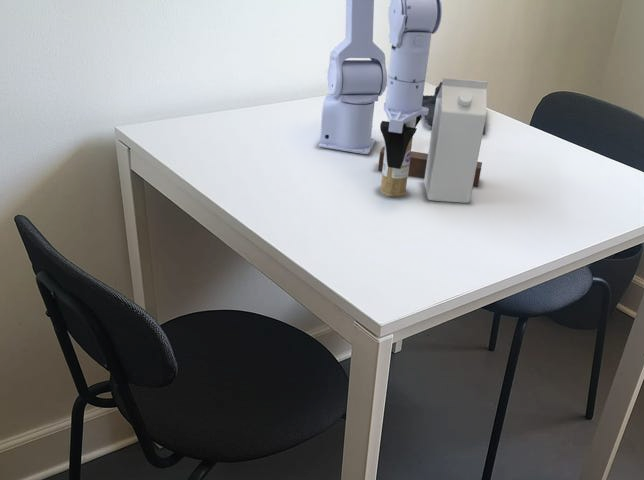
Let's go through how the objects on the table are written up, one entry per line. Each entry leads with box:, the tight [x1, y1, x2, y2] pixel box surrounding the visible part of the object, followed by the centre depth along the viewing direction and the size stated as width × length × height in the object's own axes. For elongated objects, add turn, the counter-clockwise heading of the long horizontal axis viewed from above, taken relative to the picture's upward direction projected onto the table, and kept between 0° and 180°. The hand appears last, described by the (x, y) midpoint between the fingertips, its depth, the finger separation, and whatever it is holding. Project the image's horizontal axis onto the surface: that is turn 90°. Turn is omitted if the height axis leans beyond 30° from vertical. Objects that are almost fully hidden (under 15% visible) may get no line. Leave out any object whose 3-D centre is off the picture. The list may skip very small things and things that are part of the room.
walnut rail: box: [377, 146, 483, 188], centre depth 128 cm, size 18×3×4 cm, turn 80°
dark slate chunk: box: [422, 81, 486, 136], centre depth 155 cm, size 15×22×5 cm
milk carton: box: [423, 77, 489, 204], centre depth 118 cm, size 7×7×19 cm
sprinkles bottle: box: [379, 117, 416, 198], centre depth 117 cm, size 5×5×14 cm
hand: (396, 162), depth 118 cm, fingers closed on sprinkles bottle, 4 cm apart
